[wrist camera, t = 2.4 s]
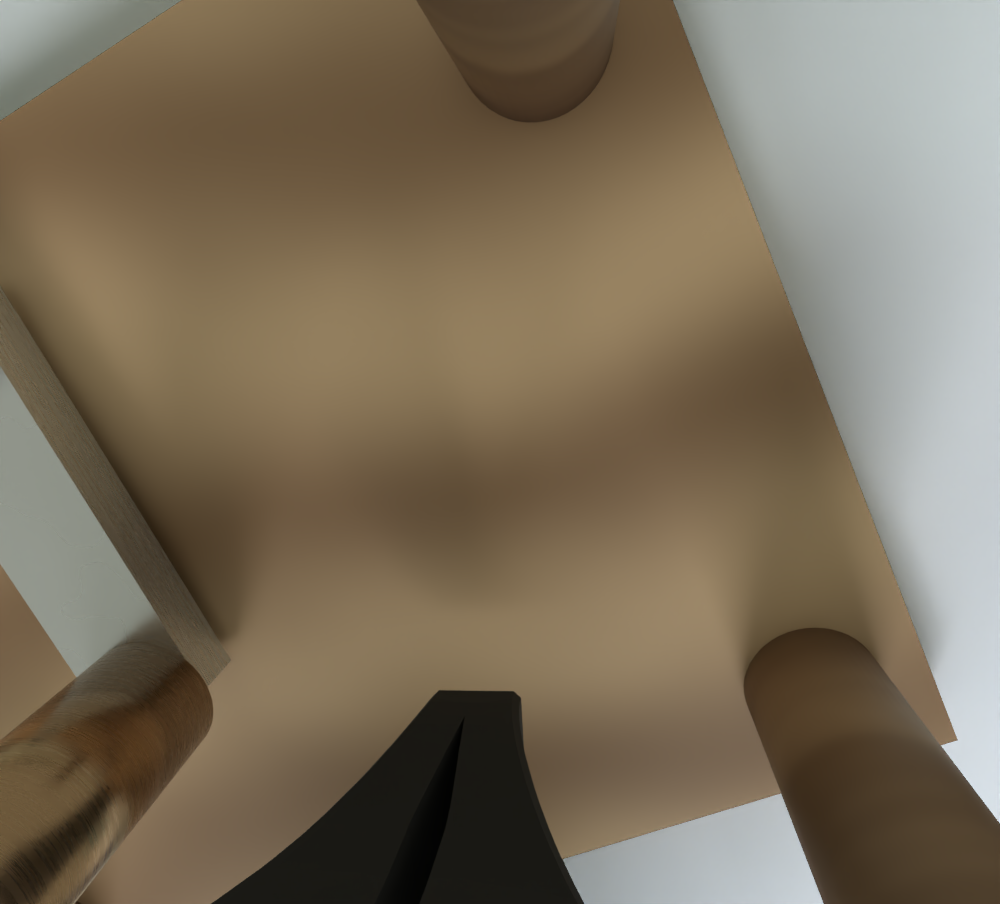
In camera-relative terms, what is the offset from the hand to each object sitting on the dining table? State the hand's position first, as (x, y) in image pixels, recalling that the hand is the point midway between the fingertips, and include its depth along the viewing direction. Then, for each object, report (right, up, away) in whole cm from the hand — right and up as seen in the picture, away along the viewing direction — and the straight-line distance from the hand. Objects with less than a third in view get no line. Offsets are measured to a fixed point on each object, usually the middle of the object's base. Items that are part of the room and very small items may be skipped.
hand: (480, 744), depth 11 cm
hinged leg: (-7, +3, +2) cm, 8 cm away
